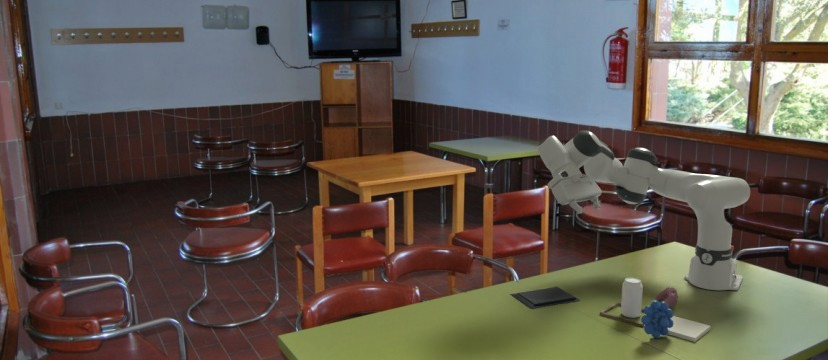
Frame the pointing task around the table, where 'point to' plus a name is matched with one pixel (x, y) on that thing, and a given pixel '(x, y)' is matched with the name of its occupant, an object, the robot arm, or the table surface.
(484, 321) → the table surface
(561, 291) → the dark grey flat block
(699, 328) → the brown bars cream slab
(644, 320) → the grapes
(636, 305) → the beverage can
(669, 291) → the video game controller
